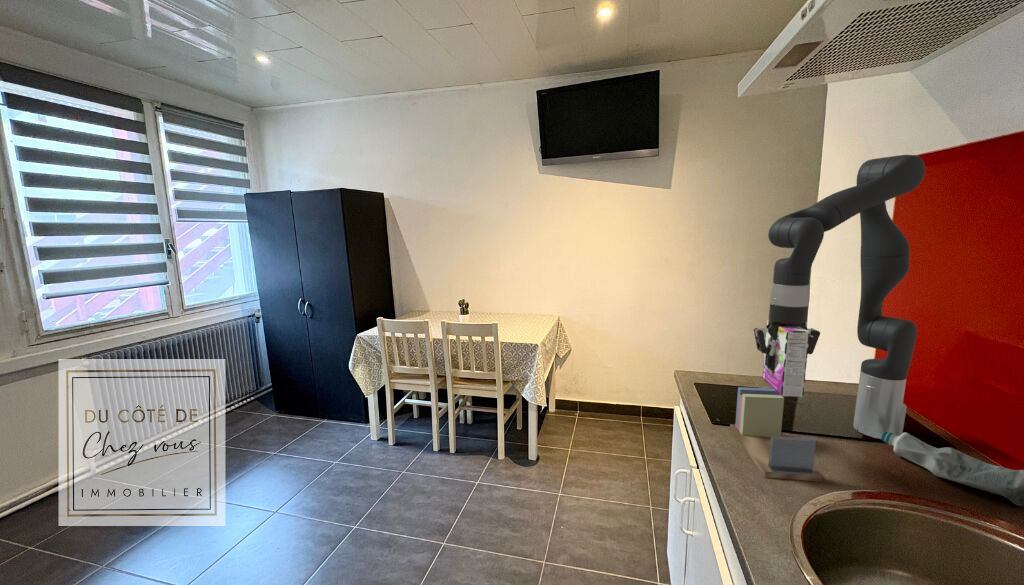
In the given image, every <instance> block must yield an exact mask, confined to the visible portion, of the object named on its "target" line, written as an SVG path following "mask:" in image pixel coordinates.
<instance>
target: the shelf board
mask: <svg viewBox="0 0 1024 585" xmlns="http://www.w3.org/2000/svg"><path fill="white" fill-rule="evenodd" d="M729 430H730V431H731V432H732V434H733V435H734V436H735V438H736V440H737V441H738V442H739V443H740V445H741V446H742V448H743V449H744V451H745V452H746V453H747V455H748V456H749V457H750V459H751V460H752V462H754V464H755V466H756V467H757V469H759V471H760V472H761V474H762V475H763V477H765V478H768V479H784V480H798V481H810V482H811V481H813V482H822V481H823V475H822V473H820V471H819V470H818V469H817V468H816V467H815V466H814V465H813V472H814V473H815V475H805V474H791V473H777V472H772V471H771V469H770V468H769V467H768V463H769V452H770V441H771V437H763V436H746V435H742V434H741V433H740V432H739V430H738V429H737V428H736V426H735V423H734V424H733V423H730V424H729ZM781 437H786V436H785V435H784V434H783V433H782V432H781Z"/></svg>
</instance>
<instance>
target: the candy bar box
mask: <svg viewBox="0 0 1024 585" xmlns="http://www.w3.org/2000/svg"><path fill="white" fill-rule="evenodd" d="M768 323H769V318H768V319H767V318H766V324H765V326H767V325H768ZM809 334H810V332H809V331H807V330H806V329H804V328H802V327H800V326H779V327H778V332H777V339H778V345H777V348H776V353H775V355H774V356H775V366H774V370H769V369H768V368H767V366H765V356H766V354H765V353H763V366H762V375H761V376H762V379H763V381H765V382H766V383H767V384H768V385H769V386H770V388H773V389H775V390H776V391H777V392H778V393H779V395H781V396H782V397H783V398H804V393H805V385H806V384H805V382H806V373H807V372H806V371H807V364H808V355H809V354H808V344H809ZM764 338H765V343H766V347H767V345H768V340H769V338H770V334H769V333H768V332H767V334H766V337H764ZM772 342H773V343H775V340H773V338H772Z"/></svg>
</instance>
